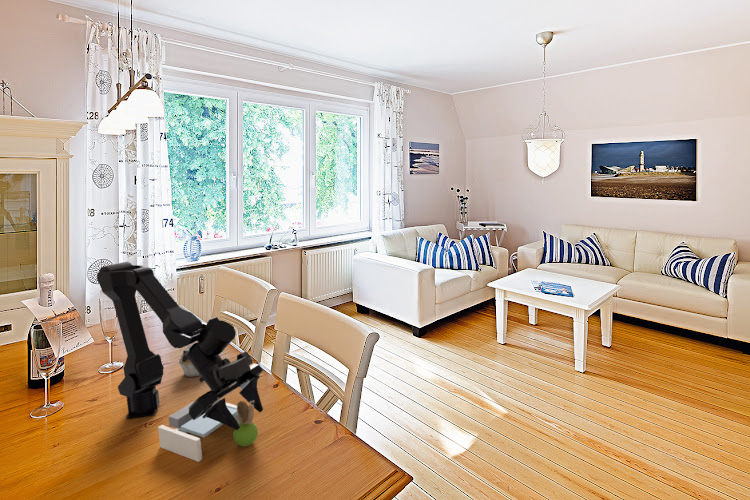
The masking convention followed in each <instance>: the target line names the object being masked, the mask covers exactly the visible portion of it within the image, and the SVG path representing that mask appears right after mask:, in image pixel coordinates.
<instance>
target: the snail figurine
mask: <svg viewBox="0 0 750 500" xmlns="http://www.w3.org/2000/svg"><path fill="white" fill-rule="evenodd" d="M254 402H255V401H254V400H253V401H252V402H251V401H250V403H249V405H248V404H247V402H245V401H244V400H241V401H239V402H238V403H237V404H236V406H237V411H238V414H239V415H238V418H239V420H240V423H239V426H240V428H239V429H238V430H235V429H233V431H232V437H233V441H234V442H235V444H236V445H238V446H240V447H249V446H250V445H252V444H253V443H254V442H255V441H256V440H257V437H258V433H259V432H258V427H257V425H256V424H255V423H254V422H253V421H254V414H255V412H254V411H255V408H254ZM252 403H253V405H251V404H252Z"/></svg>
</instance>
